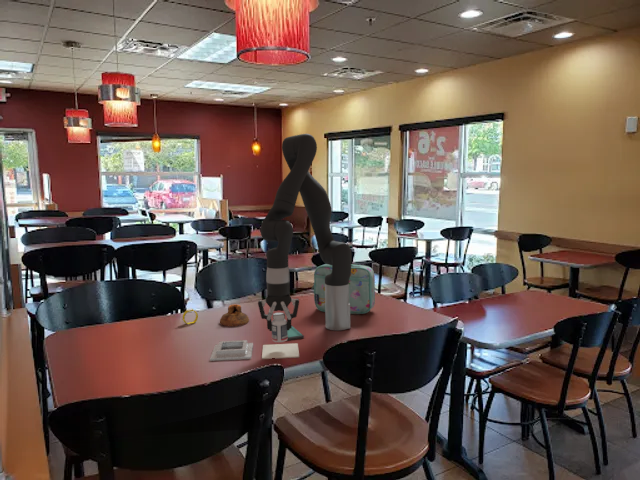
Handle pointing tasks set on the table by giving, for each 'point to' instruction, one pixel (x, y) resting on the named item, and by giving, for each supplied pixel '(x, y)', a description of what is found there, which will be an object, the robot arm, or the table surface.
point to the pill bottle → (279, 328)
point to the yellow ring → (190, 311)
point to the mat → (280, 351)
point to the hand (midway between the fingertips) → (279, 329)
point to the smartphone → (294, 334)
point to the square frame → (232, 350)
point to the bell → (234, 317)
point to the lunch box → (358, 288)
